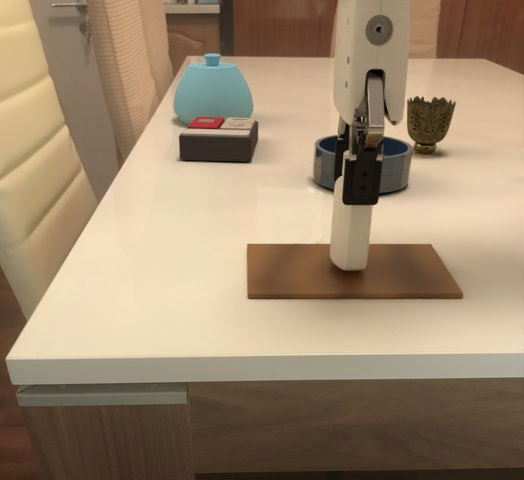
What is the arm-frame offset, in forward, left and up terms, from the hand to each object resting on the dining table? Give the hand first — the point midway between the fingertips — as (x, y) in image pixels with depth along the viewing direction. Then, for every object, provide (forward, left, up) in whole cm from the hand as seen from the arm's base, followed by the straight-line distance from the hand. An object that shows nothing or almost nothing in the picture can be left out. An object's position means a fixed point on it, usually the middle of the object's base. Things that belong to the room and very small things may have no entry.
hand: (354, 190), depth 60 cm
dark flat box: (+14, -47, -8) cm, 50 cm away
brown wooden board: (0, 0, -8) cm, 8 cm away
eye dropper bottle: (0, 0, -7) cm, 7 cm away
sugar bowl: (+16, -68, -8) cm, 70 cm away
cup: (-19, -46, -8) cm, 50 cm away
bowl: (-6, -30, -8) cm, 32 cm away
